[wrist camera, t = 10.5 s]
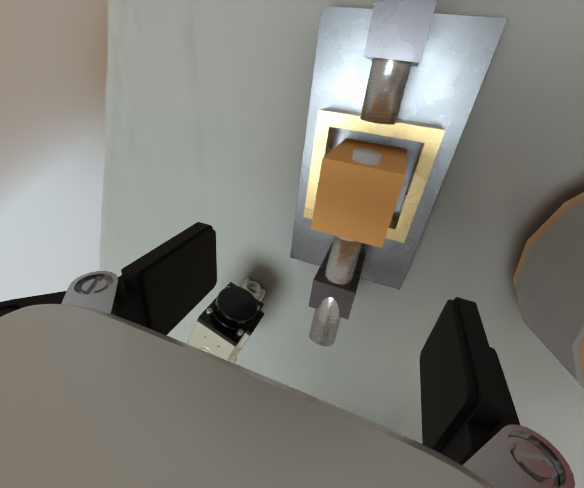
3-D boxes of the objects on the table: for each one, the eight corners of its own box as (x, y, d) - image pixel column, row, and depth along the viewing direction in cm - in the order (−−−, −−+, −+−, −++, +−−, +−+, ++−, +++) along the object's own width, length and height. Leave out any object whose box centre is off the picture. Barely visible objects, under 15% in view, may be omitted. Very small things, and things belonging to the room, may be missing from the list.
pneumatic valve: (225, 306, 43) (170, 372, 33) (253, 253, 36) (194, 317, 26) (256, 327, 43) (209, 399, 33) (289, 277, 36) (244, 350, 26)
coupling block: (387, 211, 26) (379, 254, 19) (334, 198, 27) (309, 235, 20) (409, 142, 23) (408, 166, 16) (347, 131, 24) (323, 149, 17)
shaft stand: (391, 301, 32) (385, 375, 24) (292, 271, 35) (257, 328, 27) (499, 24, 19) (565, -21, 11) (328, 11, 22) (280, -32, 14)
